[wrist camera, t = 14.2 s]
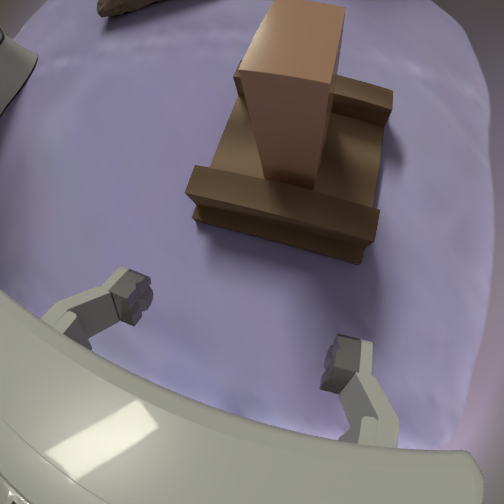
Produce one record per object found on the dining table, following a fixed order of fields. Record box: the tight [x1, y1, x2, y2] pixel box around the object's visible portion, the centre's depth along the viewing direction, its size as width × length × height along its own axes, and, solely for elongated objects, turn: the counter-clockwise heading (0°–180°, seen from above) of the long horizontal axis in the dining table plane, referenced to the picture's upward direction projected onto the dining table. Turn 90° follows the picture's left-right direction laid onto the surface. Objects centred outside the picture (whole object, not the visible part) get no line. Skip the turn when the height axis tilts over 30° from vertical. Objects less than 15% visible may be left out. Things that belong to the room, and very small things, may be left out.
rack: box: [185, 60, 393, 265], centre depth 20 cm, size 14×12×3 cm
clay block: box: [238, 0, 346, 190], centre depth 15 cm, size 6×4×11 cm, turn 163°
